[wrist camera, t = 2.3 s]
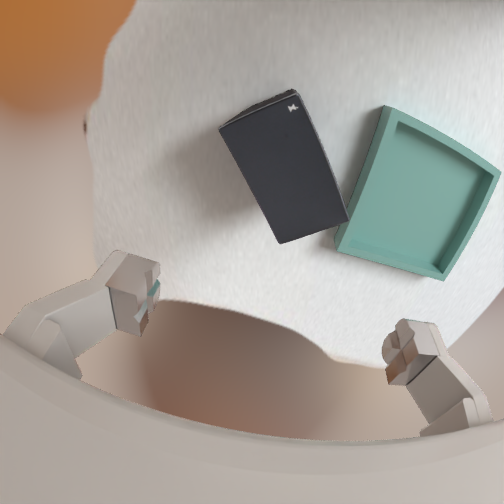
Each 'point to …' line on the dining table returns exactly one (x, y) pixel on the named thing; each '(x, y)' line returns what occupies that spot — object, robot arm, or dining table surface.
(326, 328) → the dining table surface
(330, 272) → the dining table surface
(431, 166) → the teal tray
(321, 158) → the small box
